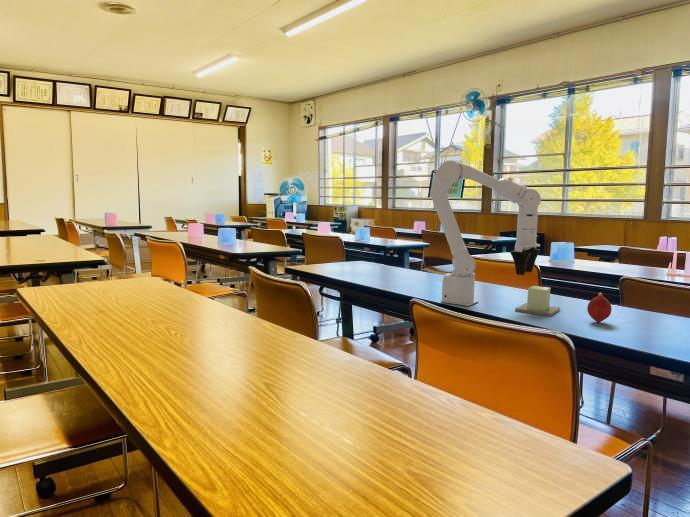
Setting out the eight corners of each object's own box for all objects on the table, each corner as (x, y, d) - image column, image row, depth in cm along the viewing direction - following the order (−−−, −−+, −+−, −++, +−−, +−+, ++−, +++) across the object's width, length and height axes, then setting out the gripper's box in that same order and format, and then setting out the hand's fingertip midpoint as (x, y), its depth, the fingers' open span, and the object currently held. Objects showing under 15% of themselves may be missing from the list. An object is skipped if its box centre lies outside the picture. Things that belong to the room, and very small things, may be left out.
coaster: (515, 311, 148) (515, 308, 148) (525, 305, 156) (525, 302, 156) (550, 316, 142) (550, 313, 142) (559, 310, 150) (560, 307, 150)
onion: (613, 325, 133) (615, 295, 132) (589, 324, 134) (591, 294, 133) (606, 320, 138) (609, 291, 137) (584, 319, 139) (586, 290, 138)
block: (527, 308, 149) (528, 288, 148) (531, 305, 153) (532, 285, 152) (544, 310, 146) (546, 290, 145) (549, 307, 150) (550, 287, 149)
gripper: (533, 230, 146) (530, 277, 147) (547, 228, 157) (544, 271, 159) (508, 229, 150) (506, 275, 152) (524, 227, 161) (521, 269, 163)
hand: (524, 273), depth 156 cm, fingers open, 7 cm apart
